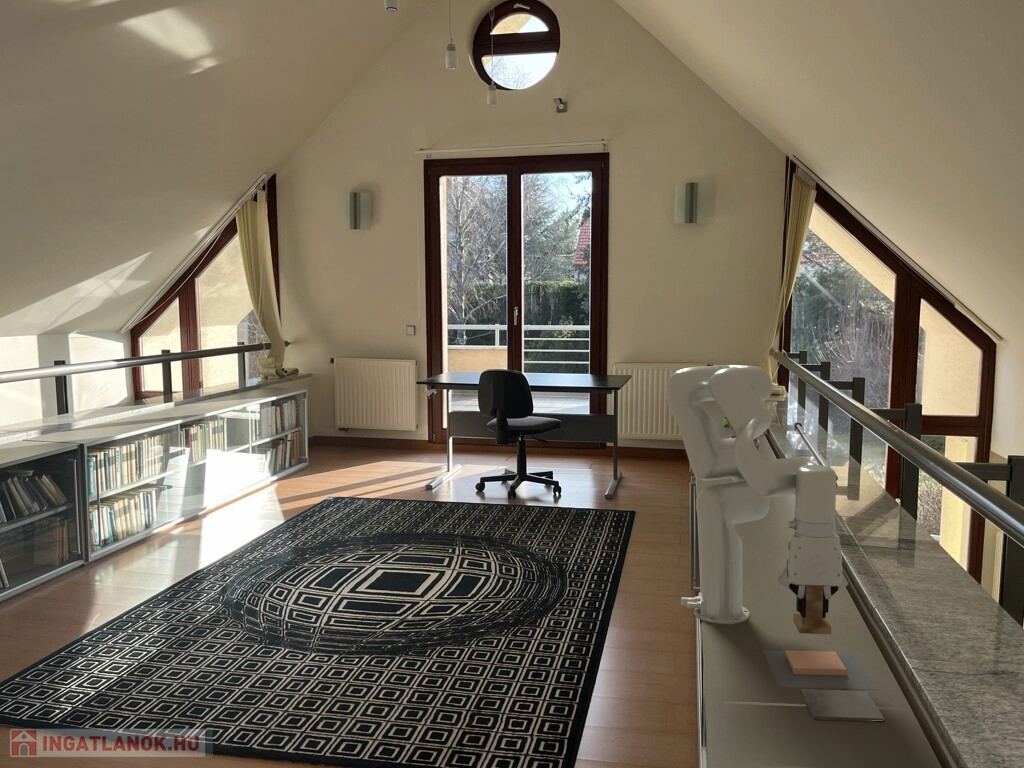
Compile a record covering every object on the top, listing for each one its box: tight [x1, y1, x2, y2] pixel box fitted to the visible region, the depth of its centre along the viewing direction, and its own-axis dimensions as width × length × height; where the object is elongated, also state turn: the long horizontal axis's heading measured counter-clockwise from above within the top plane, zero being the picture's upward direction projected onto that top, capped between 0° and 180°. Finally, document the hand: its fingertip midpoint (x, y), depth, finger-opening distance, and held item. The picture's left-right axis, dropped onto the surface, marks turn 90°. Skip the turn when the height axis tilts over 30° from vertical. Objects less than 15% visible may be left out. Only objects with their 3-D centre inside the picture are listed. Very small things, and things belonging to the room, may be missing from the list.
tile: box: [784, 650, 846, 676], centre depth 162 cm, size 10×1×8 cm
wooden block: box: [792, 586, 832, 635], centre depth 162 cm, size 6×6×10 cm
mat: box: [762, 650, 877, 691], centre depth 161 cm, size 18×16×1 cm
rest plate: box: [800, 688, 885, 722], centre depth 147 cm, size 12×10×1 cm
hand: (812, 614), depth 163 cm, fingers closed on wooden block, 3 cm apart
